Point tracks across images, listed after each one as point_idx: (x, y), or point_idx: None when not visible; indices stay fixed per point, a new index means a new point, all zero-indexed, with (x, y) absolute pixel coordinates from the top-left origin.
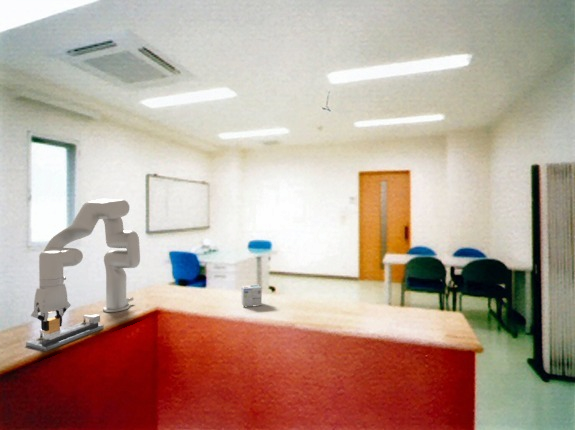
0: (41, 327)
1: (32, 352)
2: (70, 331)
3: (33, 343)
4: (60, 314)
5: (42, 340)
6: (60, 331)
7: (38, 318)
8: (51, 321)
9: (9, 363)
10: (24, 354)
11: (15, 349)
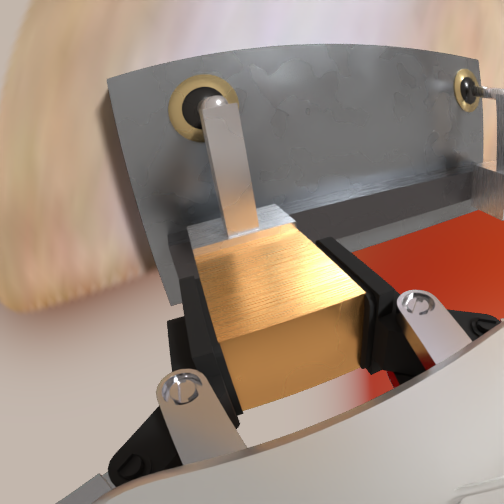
0: (168, 327)
1: (107, 247)
2: (366, 218)
3: (131, 161)
4: (393, 384)
5: (171, 246)
6: (352, 75)
7: (139, 448)
8: (267, 394)
9: (9, 306)
10: (68, 242)
11: (48, 99)
